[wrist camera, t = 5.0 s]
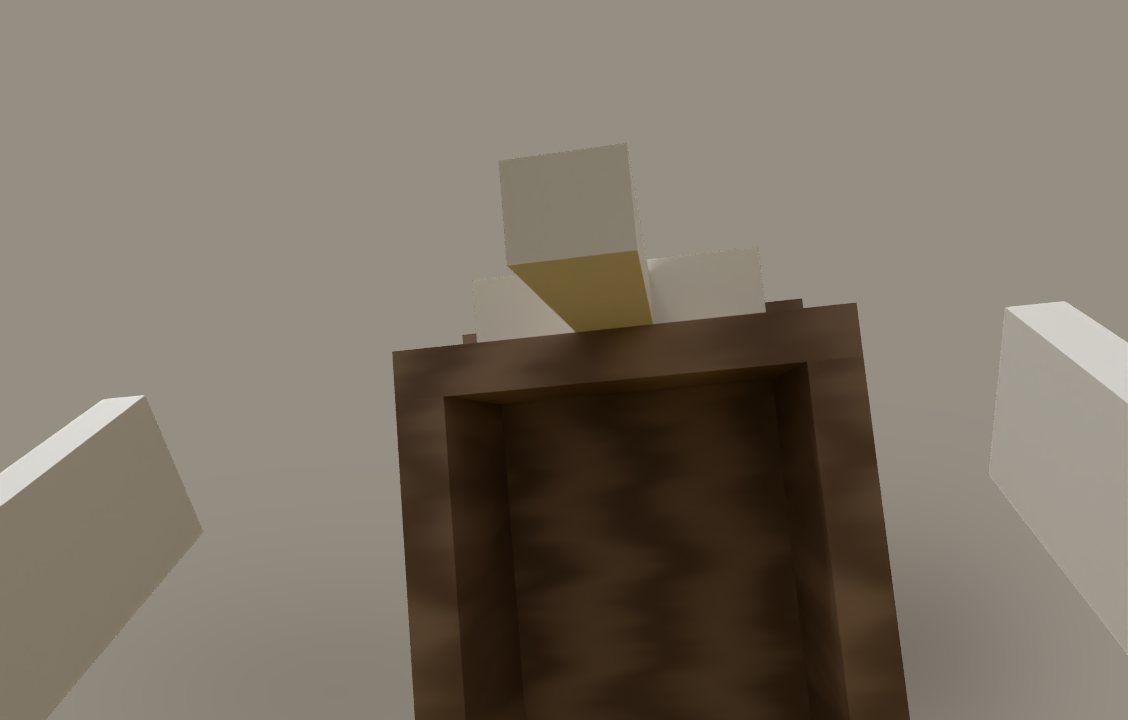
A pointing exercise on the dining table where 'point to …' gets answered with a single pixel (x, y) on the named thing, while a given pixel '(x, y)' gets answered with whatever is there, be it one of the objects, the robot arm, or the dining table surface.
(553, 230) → the beige stepped block
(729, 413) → the walnut stand
